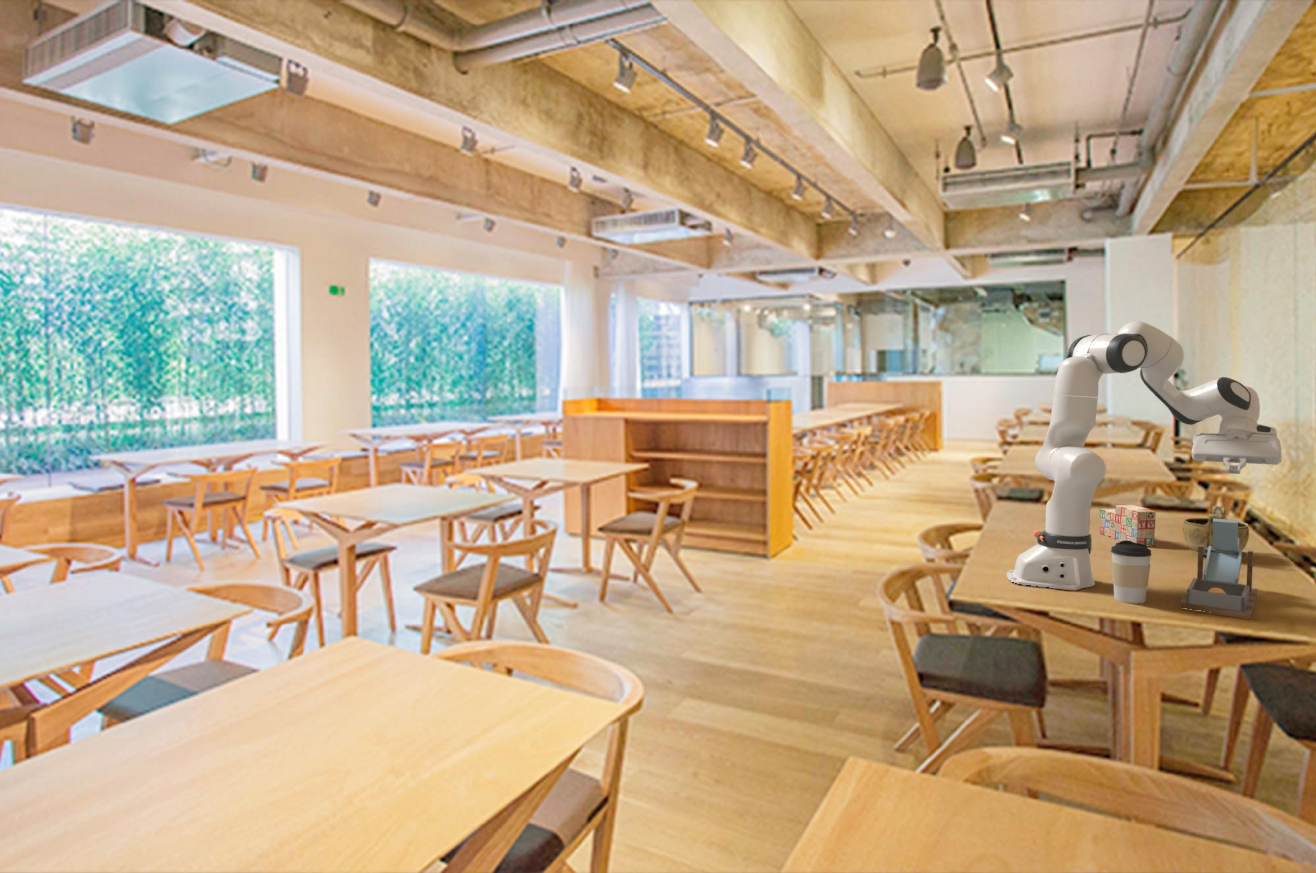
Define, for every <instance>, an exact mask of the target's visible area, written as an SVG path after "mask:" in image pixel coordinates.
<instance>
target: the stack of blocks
mask: <svg viewBox="0 0 1316 873" xmlns="http://www.w3.org/2000/svg"><path fill="white" fill-rule="evenodd" d="M1156 512H1157V511H1155V510H1152V509H1150V508H1147V507H1142V506H1139V505H1135V504H1121V505H1120V504H1118V505H1117V504H1116V505H1115V508H1100V509H1099V534H1100V533H1103V534H1105V535H1109V536H1111V537H1114V538H1117V539H1120V540H1121V541H1132V542H1134V543H1139V544H1144V545H1146V546H1147V545H1154V546H1155V529H1156V515H1157V514H1156ZM1103 534H1102V535H1103ZM1105 535H1104V536H1105ZM1111 537H1110V538H1111ZM1121 541H1120V542H1121ZM1147 547H1148V546H1147Z"/></svg>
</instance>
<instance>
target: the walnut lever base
mask: <svg viewBox="0 0 1316 873" xmlns="http://www.w3.org/2000/svg"><path fill="white" fill-rule="evenodd" d="M1204 557H1205V556H1204V545H1199V546H1198V552H1197V570H1196V571H1197V574H1196V577H1197V579H1203V573H1204ZM1253 565H1254V550H1250V549H1249V550H1248V551H1247V565H1246V566H1247V567H1246V568H1247V569H1246V585H1249V600H1248V603H1247V606H1246V610H1245V612H1240V611H1234V610H1227V609H1220V608H1214V607H1207V606H1200V605H1194V604H1187V603H1186V600H1187V592H1186V593H1185V594H1184V596H1183V598H1182V600H1181V601H1180V606H1179V609H1180V608H1187V609H1192V610H1201V611H1205V612H1211V613H1214V614H1213V615H1217V614H1220V615H1219V616H1225V617H1230V618H1237V619H1245V620H1252V617H1253V612H1254V610H1255V606H1256V603H1257V602H1256V601H1257V598H1258V592H1259V591H1258V590H1259V589H1258V588H1253V587H1252V586H1253V571H1254V570H1253ZM1211 613H1210V614H1211Z"/></svg>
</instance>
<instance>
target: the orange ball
mask: <svg viewBox="0 0 1316 873" xmlns="http://www.w3.org/2000/svg"><path fill="white" fill-rule="evenodd" d="M1208 592H1212V593H1220V594H1226V593H1225V592H1224V591H1223V590H1222V589H1220V588H1211V589H1210V590H1208Z"/></svg>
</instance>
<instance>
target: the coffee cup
mask: <svg viewBox="0 0 1316 873" xmlns="http://www.w3.org/2000/svg"><path fill="white" fill-rule="evenodd" d="M1110 549H1111V550H1110V552H1111V572H1112V573H1111V574H1112V583H1113V597H1114V599H1116V601H1118V602H1120V601H1122V603H1125V604H1133V603H1135V604H1136V605H1138V603H1140V604H1144V603H1146V596H1147V588H1148V586H1149V576H1150V569H1151V556H1152V550H1151V549H1149V548H1148V546H1146V545H1144V544H1139V543H1134V542H1132V541H1119V542H1116V543H1115V545H1113V546H1112V547H1111V548H1110ZM1135 604H1134V605H1135Z"/></svg>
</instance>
